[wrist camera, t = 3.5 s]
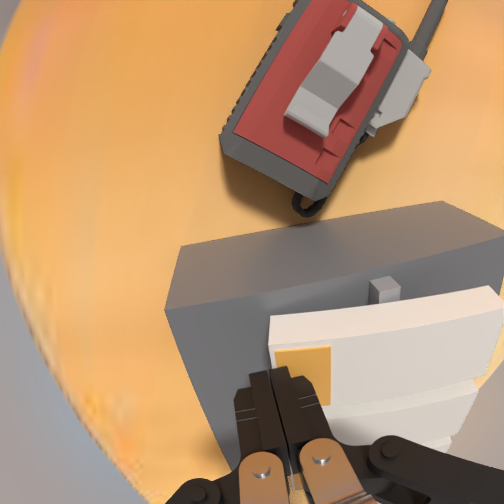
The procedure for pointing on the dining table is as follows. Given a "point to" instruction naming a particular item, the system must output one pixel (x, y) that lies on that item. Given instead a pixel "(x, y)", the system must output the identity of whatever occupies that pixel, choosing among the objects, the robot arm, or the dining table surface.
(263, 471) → the robot arm
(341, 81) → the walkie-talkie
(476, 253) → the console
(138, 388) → the dining table surface
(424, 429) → the rocker
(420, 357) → the white rectangular block
